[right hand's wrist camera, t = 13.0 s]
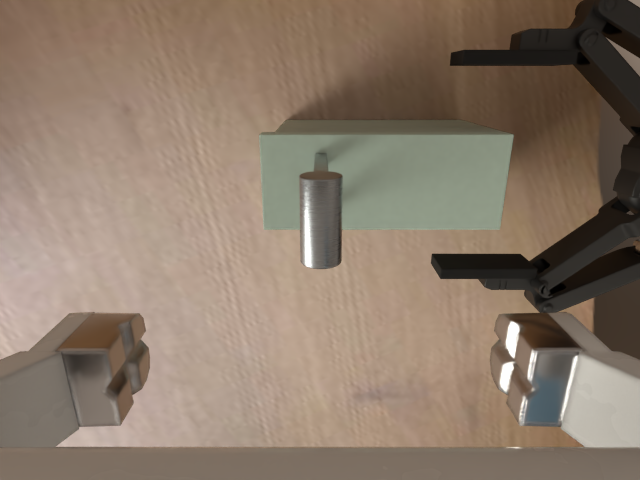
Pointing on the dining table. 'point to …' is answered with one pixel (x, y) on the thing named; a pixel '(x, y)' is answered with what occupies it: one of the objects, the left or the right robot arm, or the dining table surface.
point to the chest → (382, 126)
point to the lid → (380, 184)
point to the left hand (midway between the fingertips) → (444, 170)
